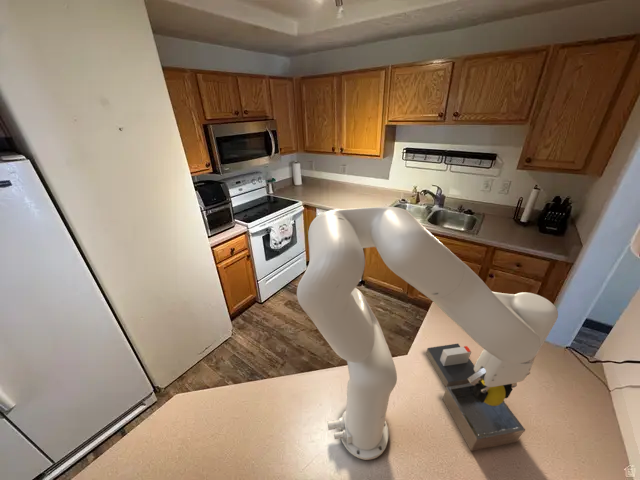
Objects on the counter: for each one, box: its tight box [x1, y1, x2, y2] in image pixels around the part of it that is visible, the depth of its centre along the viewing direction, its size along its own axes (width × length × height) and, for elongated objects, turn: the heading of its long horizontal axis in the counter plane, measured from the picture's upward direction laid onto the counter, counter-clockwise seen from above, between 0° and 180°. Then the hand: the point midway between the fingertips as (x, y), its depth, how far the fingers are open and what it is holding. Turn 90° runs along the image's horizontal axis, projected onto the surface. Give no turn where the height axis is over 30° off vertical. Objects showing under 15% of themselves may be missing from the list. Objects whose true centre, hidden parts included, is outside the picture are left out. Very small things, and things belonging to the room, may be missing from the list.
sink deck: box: [425, 343, 475, 389], centre depth 82 cm, size 11×12×3 cm
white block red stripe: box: [440, 345, 472, 366], centre depth 80 cm, size 8×2×5 cm, turn 98°
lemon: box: [481, 380, 506, 406], centre depth 63 cm, size 6×6×8 cm
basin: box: [442, 383, 526, 452], centre depth 68 cm, size 13×13×6 cm
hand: (489, 394), depth 64 cm, fingers closed on lemon, 5 cm apart
